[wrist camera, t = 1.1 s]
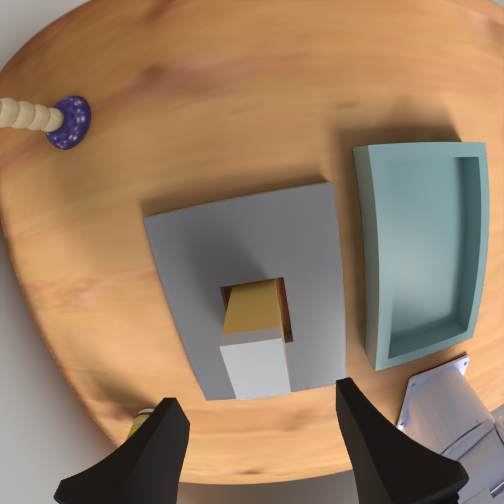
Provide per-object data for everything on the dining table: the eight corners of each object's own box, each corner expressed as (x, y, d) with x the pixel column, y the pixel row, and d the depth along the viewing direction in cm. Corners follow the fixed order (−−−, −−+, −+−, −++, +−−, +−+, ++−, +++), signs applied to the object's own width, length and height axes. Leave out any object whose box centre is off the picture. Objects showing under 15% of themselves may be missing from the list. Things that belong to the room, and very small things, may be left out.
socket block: (342, 372, 22) (345, 381, 21) (208, 391, 23) (206, 400, 22) (328, 181, 17) (332, 182, 16) (149, 215, 18) (143, 219, 17)
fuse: (283, 327, 20) (291, 394, 14) (243, 333, 21) (237, 400, 14) (274, 279, 19) (281, 337, 13) (232, 286, 19) (219, 346, 13)
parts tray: (457, 321, 20) (472, 337, 18) (364, 350, 21) (375, 371, 18) (462, 142, 15) (485, 142, 13) (351, 147, 16) (367, 145, 14)
